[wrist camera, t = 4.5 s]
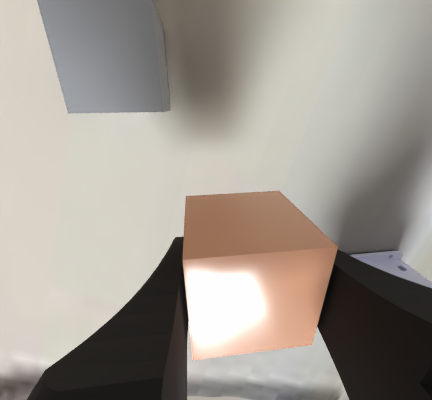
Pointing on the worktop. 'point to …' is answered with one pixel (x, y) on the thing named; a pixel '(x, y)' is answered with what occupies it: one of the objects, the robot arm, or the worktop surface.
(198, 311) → the terracotta cube
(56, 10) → the slate cube
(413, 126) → the worktop surface
